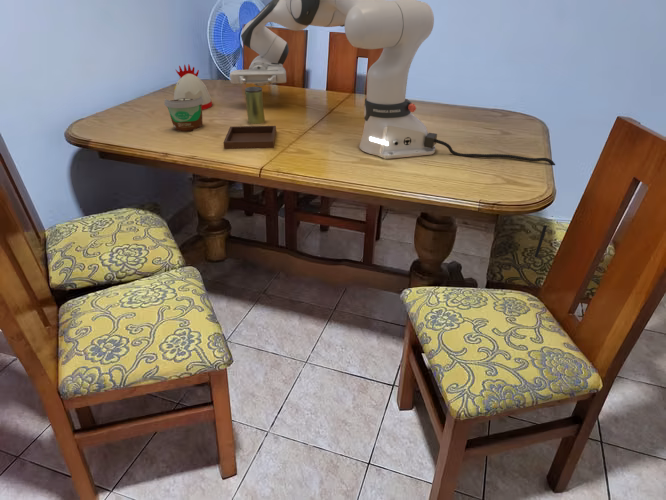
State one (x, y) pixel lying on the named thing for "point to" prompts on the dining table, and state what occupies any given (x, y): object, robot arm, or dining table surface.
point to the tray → (250, 137)
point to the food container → (185, 113)
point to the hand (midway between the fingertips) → (256, 81)
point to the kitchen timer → (191, 87)
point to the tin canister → (254, 105)
